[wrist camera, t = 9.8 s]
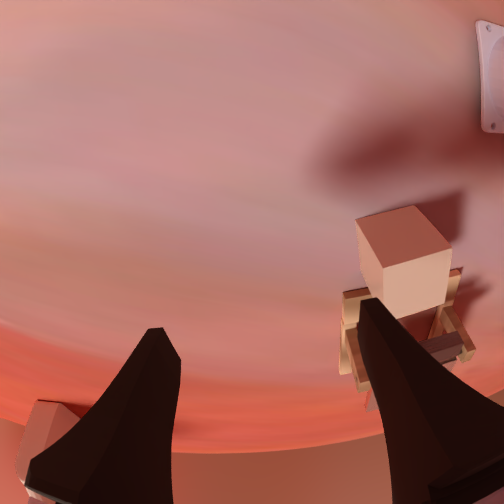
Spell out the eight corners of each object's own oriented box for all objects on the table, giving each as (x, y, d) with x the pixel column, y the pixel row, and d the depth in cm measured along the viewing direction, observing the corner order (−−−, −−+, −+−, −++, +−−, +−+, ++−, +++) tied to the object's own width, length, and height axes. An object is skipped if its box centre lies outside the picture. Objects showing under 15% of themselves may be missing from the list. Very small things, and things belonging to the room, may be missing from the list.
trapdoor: (374, 352, 21) (379, 367, 20) (462, 328, 20) (468, 341, 19) (363, 402, 26) (366, 414, 24) (436, 382, 25) (440, 393, 24)
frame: (341, 292, 24) (361, 355, 19) (457, 268, 23) (492, 318, 18) (338, 368, 30) (349, 420, 25) (432, 346, 29) (452, 391, 24)
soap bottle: (106, 433, 42) (84, 567, 20) (74, 429, 44) (50, 551, 21) (66, 401, 36) (30, 555, 14) (36, 399, 38) (-1, 534, 15)
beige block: (413, 204, 20) (452, 247, 15) (413, 256, 22) (444, 303, 17) (354, 219, 20) (382, 268, 16) (360, 270, 23) (383, 322, 18)
